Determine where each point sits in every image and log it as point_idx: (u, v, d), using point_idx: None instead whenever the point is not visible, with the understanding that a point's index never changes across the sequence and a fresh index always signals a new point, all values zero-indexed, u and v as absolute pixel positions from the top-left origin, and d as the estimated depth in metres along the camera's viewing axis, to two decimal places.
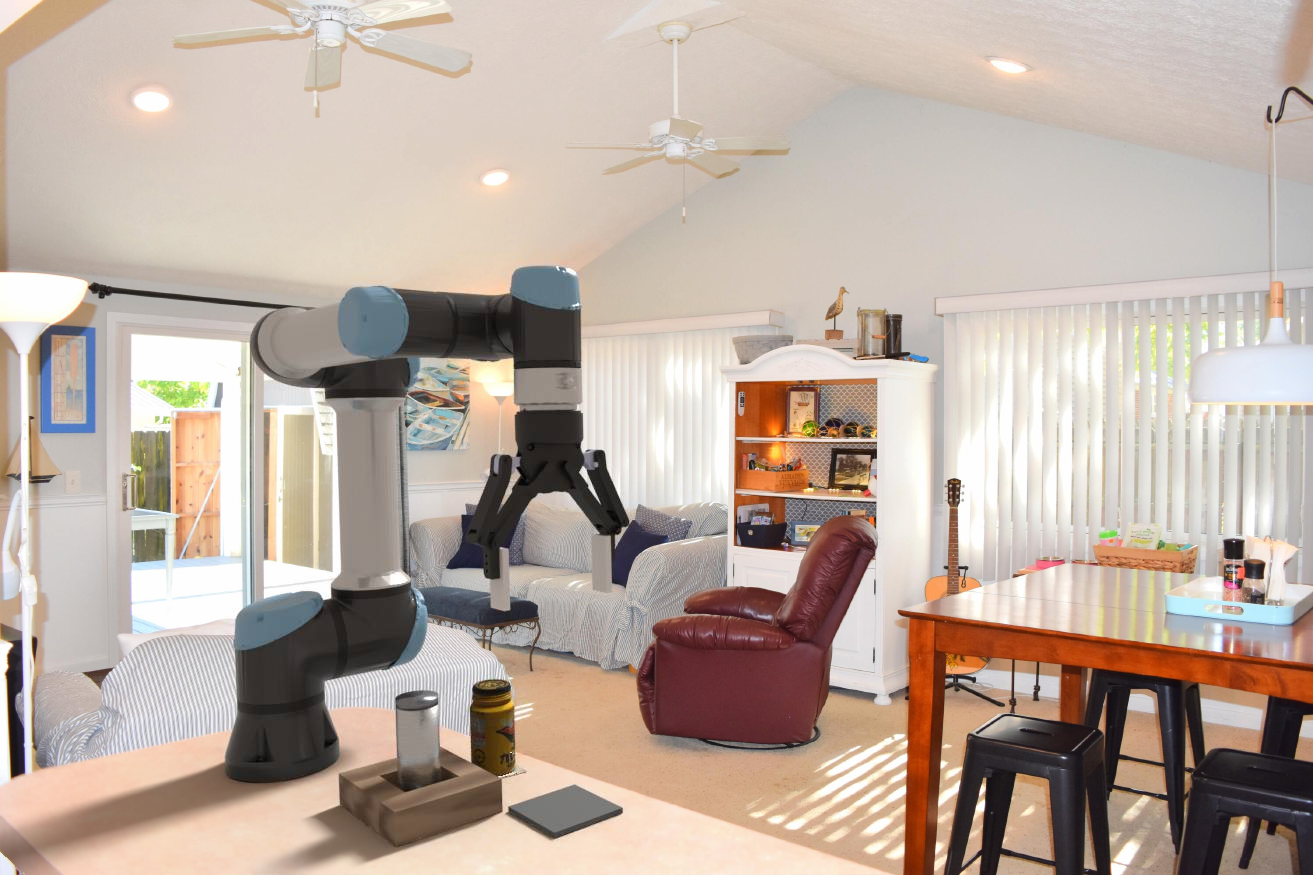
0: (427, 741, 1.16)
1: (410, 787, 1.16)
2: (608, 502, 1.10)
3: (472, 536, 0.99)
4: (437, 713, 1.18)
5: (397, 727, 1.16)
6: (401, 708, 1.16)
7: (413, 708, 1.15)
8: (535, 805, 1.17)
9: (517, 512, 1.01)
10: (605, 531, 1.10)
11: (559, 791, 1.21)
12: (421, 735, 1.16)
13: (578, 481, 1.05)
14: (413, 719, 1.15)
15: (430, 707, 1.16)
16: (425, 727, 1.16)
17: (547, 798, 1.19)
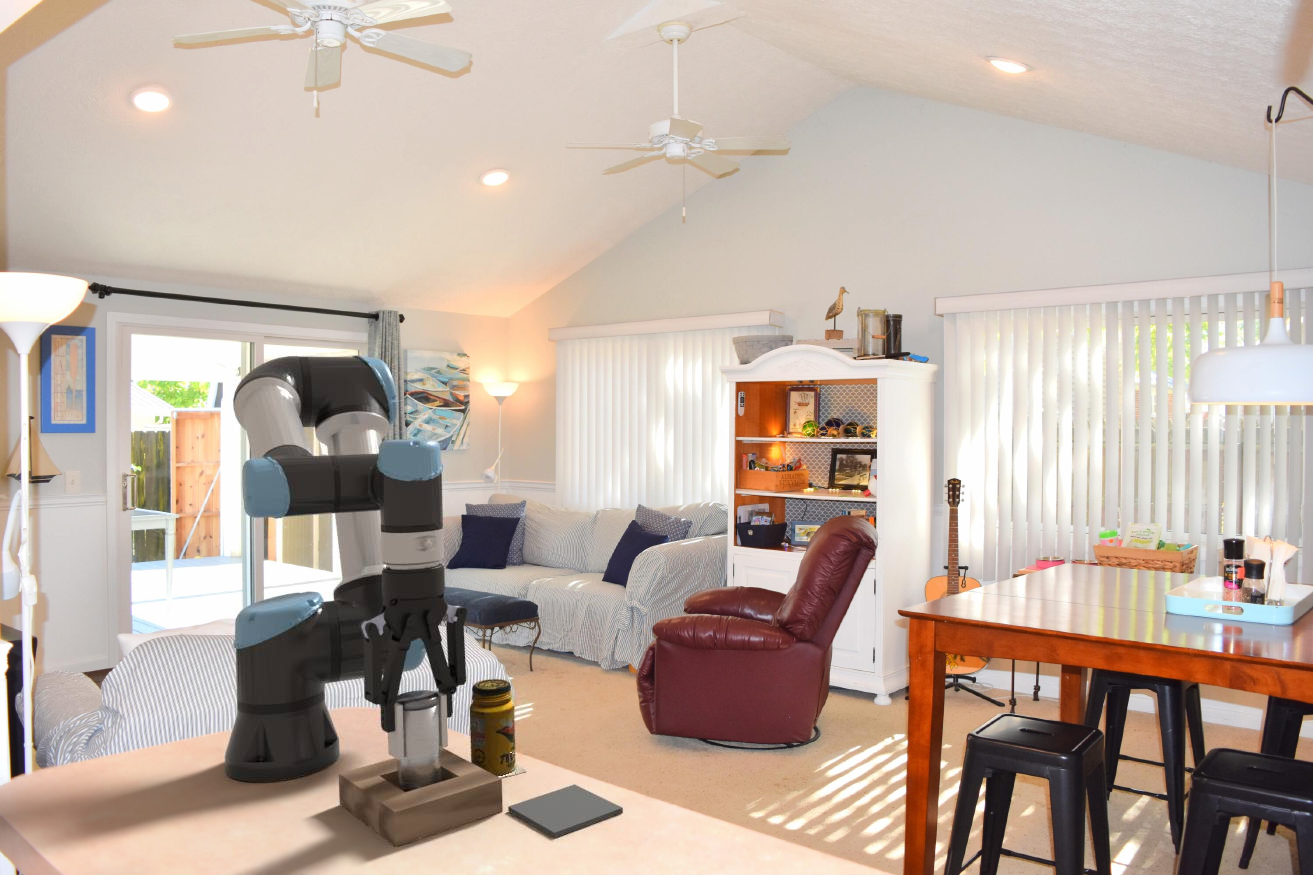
0: (427, 741, 1.16)
1: (410, 787, 1.16)
2: (454, 657, 1.21)
3: (369, 698, 1.14)
4: (437, 713, 1.18)
5: None
6: None
7: (413, 707, 1.15)
8: (535, 805, 1.17)
9: (399, 668, 1.15)
10: (442, 690, 1.20)
11: (559, 791, 1.21)
12: (421, 735, 1.16)
13: (434, 632, 1.17)
14: (413, 719, 1.15)
15: (430, 707, 1.16)
16: (425, 727, 1.16)
17: (547, 798, 1.19)
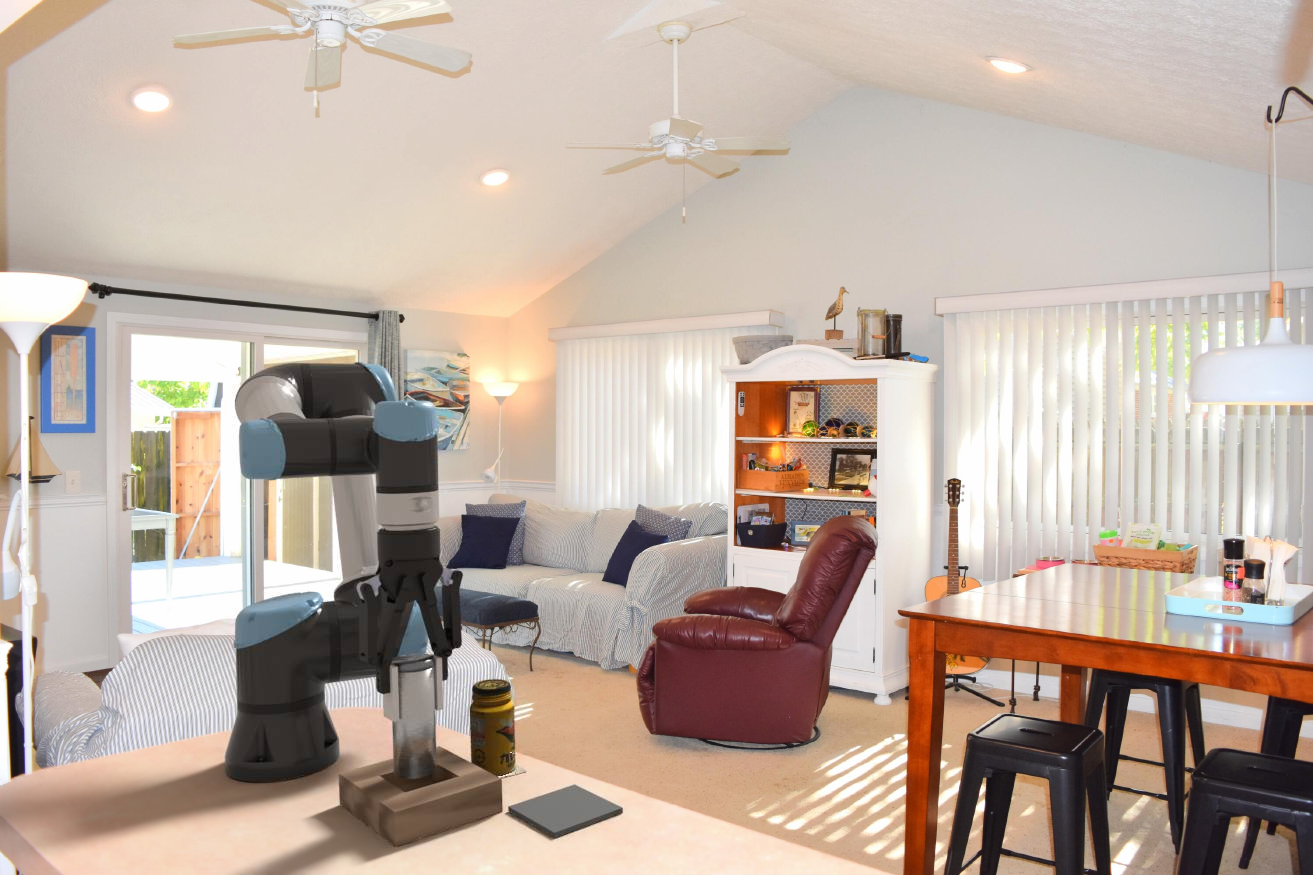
0: (423, 703, 1.16)
1: (405, 749, 1.15)
2: (449, 620, 1.20)
3: (364, 659, 1.13)
4: (432, 675, 1.17)
5: None
6: None
7: (408, 669, 1.15)
8: (535, 805, 1.17)
9: (394, 629, 1.15)
10: (438, 653, 1.19)
11: (559, 791, 1.21)
12: (417, 697, 1.15)
13: (429, 594, 1.17)
14: (409, 681, 1.15)
15: (425, 669, 1.16)
16: (420, 688, 1.15)
17: (547, 798, 1.19)
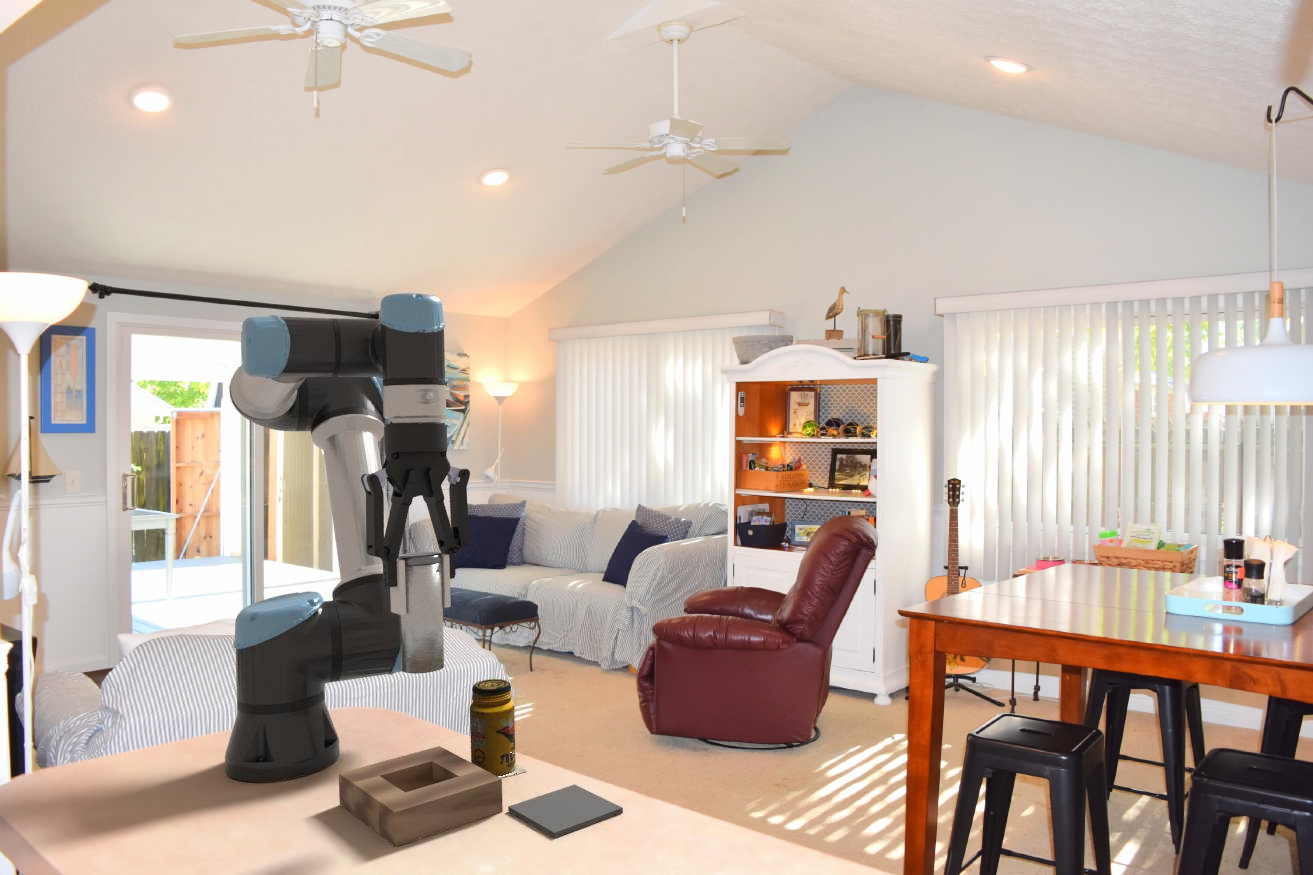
0: (430, 598, 1.15)
1: (413, 644, 1.15)
2: (456, 518, 1.20)
3: (371, 551, 1.13)
4: (440, 571, 1.17)
5: None
6: None
7: (415, 563, 1.14)
8: (535, 805, 1.17)
9: (401, 522, 1.14)
10: (445, 550, 1.19)
11: (559, 791, 1.21)
12: (424, 591, 1.15)
13: (436, 490, 1.17)
14: (416, 575, 1.14)
15: (432, 564, 1.16)
16: (427, 583, 1.15)
17: (547, 798, 1.19)
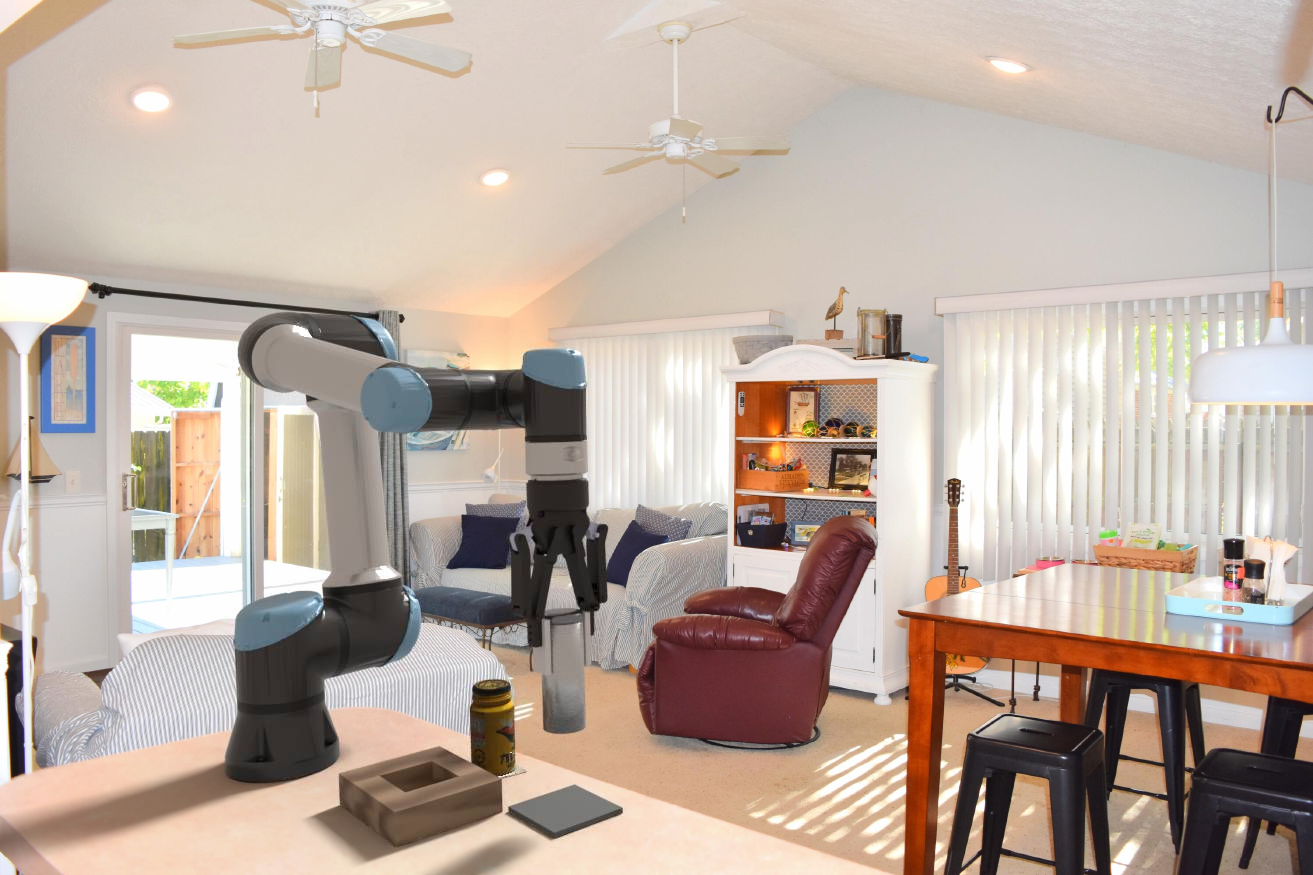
0: (574, 657, 1.13)
1: (558, 704, 1.13)
2: (595, 574, 1.18)
3: (518, 612, 1.11)
4: (582, 629, 1.15)
5: None
6: None
7: (561, 622, 1.13)
8: (535, 805, 1.17)
9: (546, 581, 1.12)
10: (585, 607, 1.17)
11: (559, 791, 1.21)
12: (569, 650, 1.13)
13: (578, 547, 1.15)
14: (561, 634, 1.13)
15: (576, 622, 1.14)
16: (572, 642, 1.13)
17: (547, 798, 1.19)
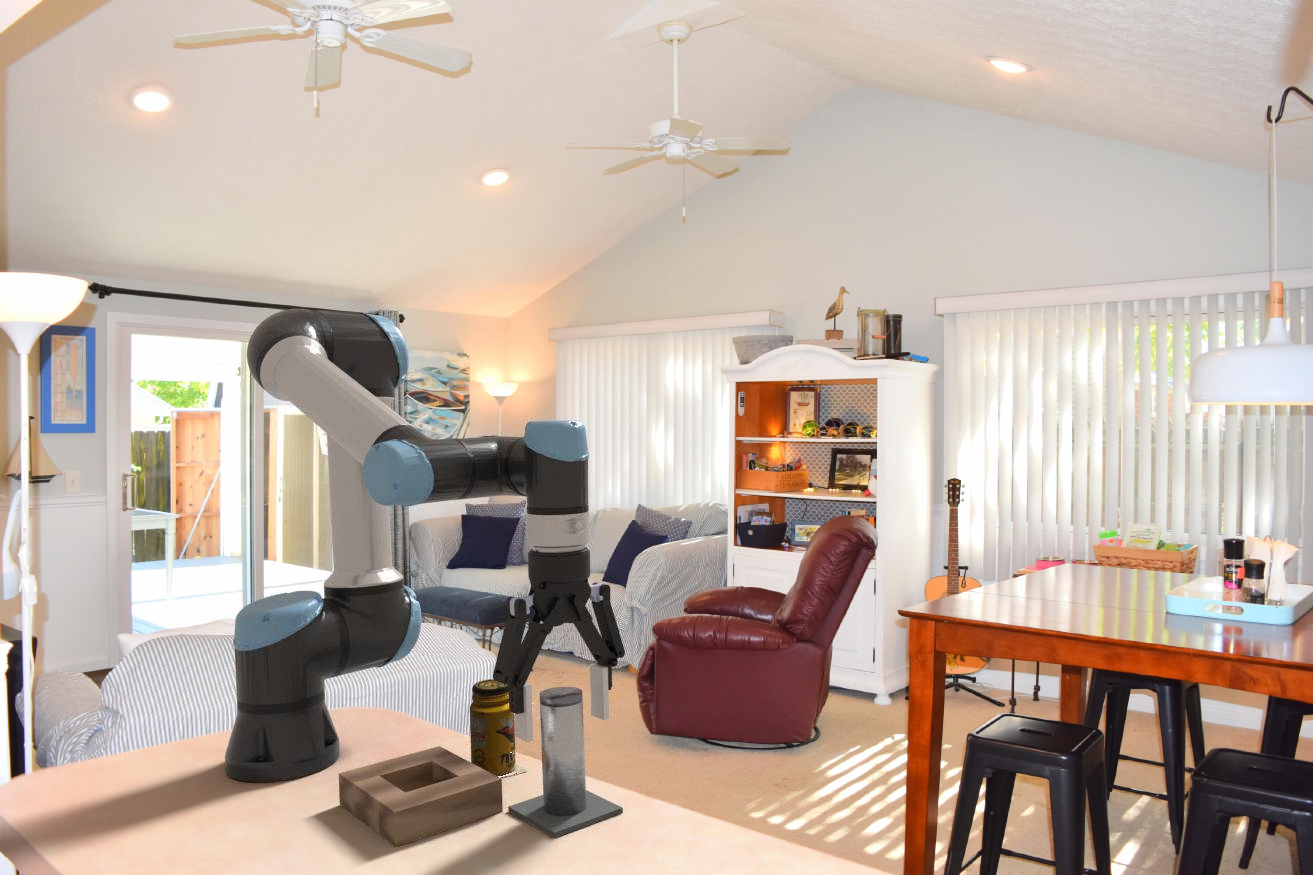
0: (574, 738, 1.14)
1: (558, 785, 1.13)
2: (608, 633, 1.20)
3: (499, 677, 1.10)
4: (582, 709, 1.16)
5: (543, 724, 1.14)
6: (548, 704, 1.14)
7: (560, 704, 1.13)
8: (535, 805, 1.17)
9: (536, 649, 1.12)
10: (603, 662, 1.19)
11: None
12: (569, 732, 1.14)
13: (584, 614, 1.16)
14: (561, 715, 1.13)
15: (576, 703, 1.14)
16: (572, 723, 1.14)
17: None
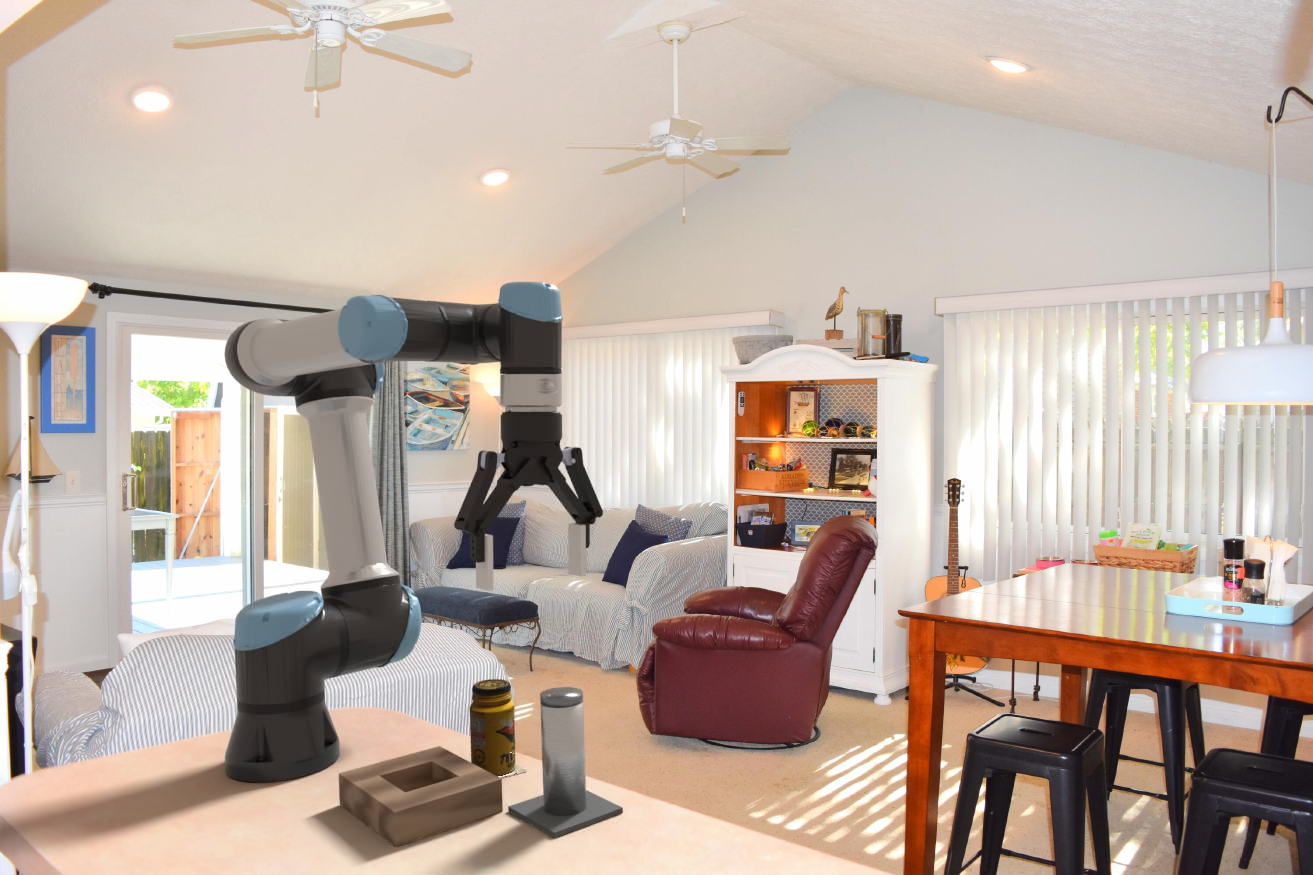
0: (575, 739, 1.14)
1: (558, 786, 1.13)
2: (584, 495, 1.22)
3: (460, 524, 1.10)
4: (582, 710, 1.15)
5: (543, 724, 1.14)
6: (548, 705, 1.13)
7: (561, 704, 1.13)
8: (535, 805, 1.17)
9: (501, 503, 1.13)
10: (581, 521, 1.22)
11: None
12: (569, 732, 1.13)
13: (557, 475, 1.17)
14: (561, 716, 1.13)
15: (577, 704, 1.14)
16: (573, 724, 1.14)
17: None
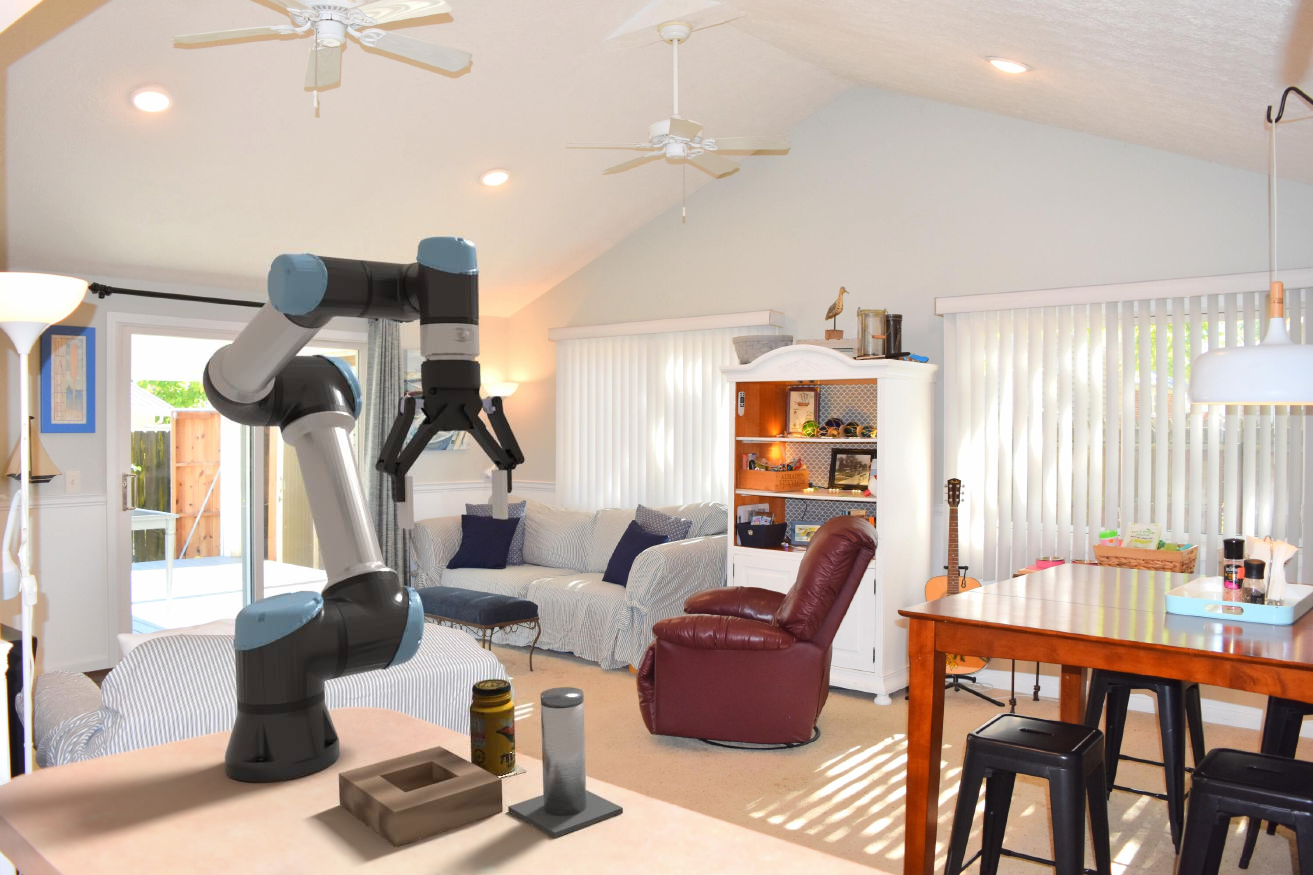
0: (575, 739, 1.14)
1: (558, 786, 1.13)
2: (505, 442, 1.28)
3: (380, 465, 1.16)
4: (583, 710, 1.15)
5: (544, 725, 1.14)
6: (549, 705, 1.13)
7: (561, 705, 1.13)
8: (535, 805, 1.17)
9: (420, 446, 1.19)
10: (502, 467, 1.27)
11: None
12: (570, 733, 1.13)
13: (476, 422, 1.23)
14: (562, 717, 1.13)
15: (577, 704, 1.14)
16: (573, 724, 1.14)
17: None
